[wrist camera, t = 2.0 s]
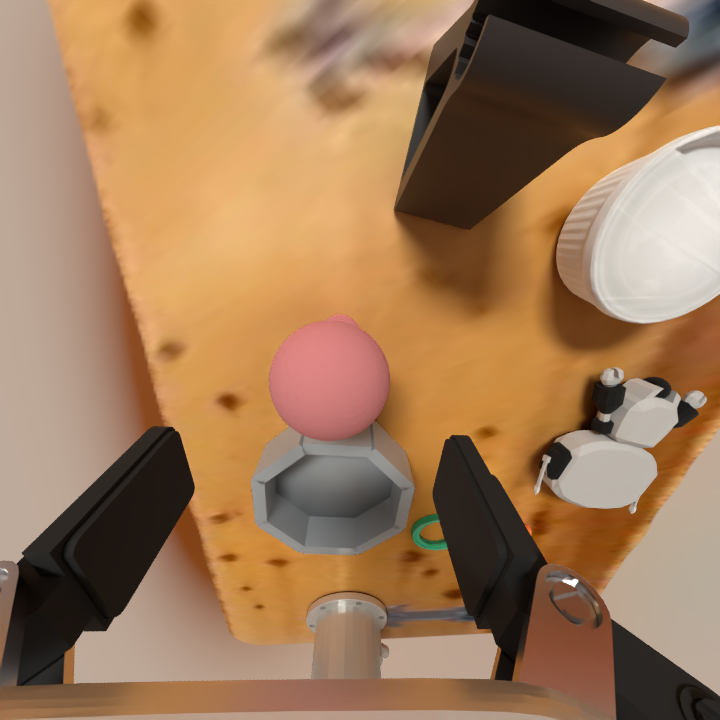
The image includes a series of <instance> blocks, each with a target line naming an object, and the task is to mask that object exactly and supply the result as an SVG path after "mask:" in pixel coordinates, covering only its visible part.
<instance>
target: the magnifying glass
mask: <svg viewBox="0 0 720 720" xmlns="http://www.w3.org/2000/svg"><path fill="white" fill-rule="evenodd" d="M436 522H440V521H439V518H438V514H433V515H429V516H426V517H423V518H421V519H420V520H418V521H417V522H416V523H415V524H414V525H413V527H412V531H411V532H412V538H413V541H414V542H415V544H416V545H418V546H419V547H421V548H424V549H428V550H443V549H448V548H447V544H446V541H445V539H443V540H438V541H430V540H426V539H424V538H422V537H421V535H420V534H419V533H420V531H421V530H422V529H423V528H424V527H425V526H427V525H429V524H432V523H436ZM525 526H526V528H527V530H528V531H529V533H530V535H531V534H532V533H531V529H530V527H529V526H528V525H527V524H525Z"/></svg>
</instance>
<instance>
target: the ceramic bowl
mask: <svg viewBox="0 0 720 720" xmlns="http://www.w3.org/2000/svg"><path fill="white" fill-rule="evenodd" d="M251 485H252V495H253V506H254V516H255V524H257V526H258V527H260V528H261V529H263V530H264V531H266V532H267V533H269V534H271V535H272V536H274V537H275V538H277V539H278V540H280V541H281V542H283V543H285V544H286V545H288V546H289V547H291V548H292V549H294V550H295V551H297V552H301V551H302V554H335V555H357V553H358V554H361V553H363V552H365V551H367V550H369V549H371V548H372V547H374V546H376V545H378V544H380V543H382V542H384V541H385V540H387V539H389V538H391V537H393V536H395V535H397V534H399V533H400V532H402V531H403V529H405V527H406V523H407V519H408V515H409V511H410V507H411V503H412V499H413V495H414V491H415V486H414V482H413V478H412V474H411V470H410V466H409V462H408V458H407V454H406V451H405V450H404V449H403V448H402V447H401V446H400V445H399V444H398V443H397V442H396V441H395V440H394V439H393V438H392V437H391V436H390V435H389V434H388V433H387V432H386V431H385V430H384V429H383V428H382V427H381V426H380V425H379V424H378V423H377V422H376V421H375V420H374V422H373V423H372V424H371V425H369V426H368V427H367V428H366V429H365V430H363V431H362V432H360V433H358V434H356V435H354V436H352V437H349V438H346V439H342V440H337V441H321V440H316V439H312V438H309V437H306V436H303V435H302V434H300V433H298V432H296V431H295V430H294V429H292V428H291V427H288V428H287V429H286V430H284V431H283V432H282V433H280V434H279V435H278V436H276V437H275V438H274V439H272V440H271V441H270V442H268V443H267V444H266V446H265V448H264V451H263V453H262V455H261V458H260V460H259V463H258V465H257V467H256V470H255V472H254V475H253V477H252V479H251Z"/></svg>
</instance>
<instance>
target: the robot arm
mask: <svg viewBox="0 0 720 720" xmlns="http://www.w3.org/2000/svg"><path fill="white" fill-rule="evenodd" d="M194 490H195V486H194V482H193V478H192V475H191V471H190V468H189V465H188V461H187V458H186V454H185V451H184V447H183V444H182V440H181V437H180V434H179V432H177V431H175V429H174V428H173V427H159V426H154V427H151V428H150V429H148V430H147V432H145V433H144V434H143V435H142V436H141V437H140V438H139V439H138V440H137V441H136V442H135V443H134V444H133V445H132V446H131V447H130V448H129V449H128V450H127V451H126V452H125V453H124V454H123V455H122V456H121V457H120V458H119V459H118V460H117V461H116V462H115V463H114V464H113V465H112V466H110V468H108V469H107V470H106V471H105V472H104V473H103V474H102V475H101V476H100V477H99V478H98V479H97V480H96V481H95V482H94V483H93V484H92V485H91V486H90V487H89V488H88V489H87V490H86V491H85V492H84V493H83V494H82V495H81V496H80V497H79V498H78V499H77V500H76V501H75V502H74V503H72V504H71V505H70V507H68V508H67V509H66V510H65V511H64V512H63V513H62V514H61V515H60V516H59V517H58V518H57V519H56V520H55V521H54V522H53V523H52V524H51V525H50V526H49V527H48V528H47V529H46V530H45V531H44V532H43V533H42V534H41V535H40V536H39V537H38V538H37V539H36V540H35V541H33V542H32V543H31V545H29V546H28V547H27V548H26V550H24V551H23V552H22V554H23V555H24V557H23V558H22V559H21V560H20V561H19V562H18V563H17V564H15V563H14V562H12V561H0V720H720V696H718V695H717V694H716V693H715V692H713V691H712V690H710V689H709V688H708V687H706V686H705V685H703V684H702V683H701V682H699V681H698V680H697V679H695V678H694V677H692V676H691V675H690V674H688V673H686V672H685V671H684V670H682V669H681V668H680V667H678V666H677V665H675V664H674V663H673V662H671V661H670V660H668V659H667V658H666V657H664V656H663V655H661V654H660V653H659V652H657V651H656V650H654V649H653V648H652V647H650V646H649V645H647V644H646V643H644V642H643V641H642V640H640V639H639V638H637V637H636V636H635V635H633V634H632V633H630V632H629V631H628V630H626V629H625V628H623V627H622V626H621V625H619V624H618V623H616V622H615V621H614V620H612V619H611V618H610V613H609V611H608V609H607V607H606V605H605V603H604V601H603V599H602V598H601V597H600V595H599V594H598V593H597V591H596V590H595V589H594V588H593V587H592V586H591V585H590V584H589V583H588V582H587V581H586V580H585V579H584V578H583V577H581V576H580V575H578V574H577V573H576V572H574V571H572V570H570V569H568V568H566V567H564V566H561V565H556V564H547V562H546V560H545V559H544V557H543V555H542V553H541V552H540V550H539V548H538V547H537V545H536V543H535V541H534V540H533V538H532V536H531V535H530V533H529V531H528V530H527V528H526V526H525V524H524V523H523V521H522V519H521V518H520V516H519V514H518V512H517V511H516V509H515V507H514V506H513V504H512V502H511V501H510V499H509V497H508V495H507V494H506V492H505V490H504V489H503V487H502V485H501V483H500V482H499V480H498V479H497V478H496V477H495V476H494V475H491V473H490V472H489V470H488V468H487V466H486V465H485V463H484V461H483V459H482V458H481V456H480V454H479V452H478V451H477V449H476V447H475V445H474V444H473V442H472V440H471V438H470V437H469V436H466V435H451V437H450V439H446V440H445V443H444V447H443V451H442V455H441V459H440V463H439V467H438V471H437V475H436V479H435V483H434V487H433V501H434V504H435V508H436V511H437V514H438V518H439V521H440V524H441V528H442V531H443V534H444V538H445V541H446V544H447V548H448V551H449V554H450V558H451V561H452V564H453V568H454V571H455V574H456V578H457V581H458V584H459V588H460V591H461V594H462V598H463V601H464V604H465V607H466V610H467V612H468V614H469V615H470V616H474V619H475V622H476V625H477V629H491V631H492V634H493V637H494V640H495V642H496V645H498V649H497V654H496V658H495V662H494V666H493V670H492V674H491V679H490V680H489V679H434V678H433V679H432V678H408V679H407V678H405V679H404V678H403V679H381V672H380V666H381V664H382V657H384V658H386V657H388V654H389V648H388V647H387V646H386V645H384V644H383V643H381V634H380V630H382V629H383V627H384V626H385V624H386V622H387V614H386V608H385V606H384V605H383V604H382V603H381V602H380V601H379V600H377V599H376V598H374V597H372V596H369V595H366V594H362V593H356V592H342V593H335V594H330V595H327V596H324V597H322V598H320V599H318V600H317V601H315V602H314V603H313V604H312V605H311V606H310V607H309V609H308V612H307V619H306V622H307V626H308V627H309V629H310V630H311V631H312V632H313V633H315V641H314V652H313V663H312V674H311V679H303V680H239V681H238V680H236V681H235V680H233V681H173V682H126V683H125V682H124V683H79V684H73V682H74V648H75V642H76V641H77V639H78V638H79V636H80V635H81V633H82V632H83V631H106V630H107V629H108V627H109V625H110V624H111V622H112V620H113V619H114V617H117V616H118V615H120V614H121V612H123V610H124V609H125V607H126V606H127V604H128V603H129V601H130V599H131V597H132V596H133V594H134V593H135V591H136V589H137V588H138V586H139V584H140V583H141V581H142V579H143V578H144V576H145V574H146V573H147V571H148V569H149V567H150V566H151V564H152V563H153V561H154V559H155V558H156V556H157V554H158V553H159V551H160V549H161V548H162V546H163V544H164V543H165V541H166V539H167V538H168V536H169V534H170V533H171V531H172V529H173V528H174V526H175V524H176V523H177V521H178V519H179V518H180V516H181V514H182V513H183V511H184V510H185V508H186V506H187V505H188V503H189V501H190V500H191V498H192V496H193V494H194Z"/></svg>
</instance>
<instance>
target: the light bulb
mask: <svg viewBox="0 0 720 720" xmlns="http://www.w3.org/2000/svg"><path fill="white" fill-rule="evenodd" d="M389 386H390V373H389V367H388V364H387V360H386V358H385V356H384V353H383V351H382V350H381V348H380V347H379V345H378V344H377V343H376V341H375V340H374V339H373V338H372V337H371V336H370V335H369V334H367V333H366V332H365V331H363V330H362V329H360V328H359V327H358V325H357V323H356V322H355V321H354V320H353V319H352V318H350V317H348V316H345V315H335V316H332V317H330V318H328V319H327V320H326V321H319V322H315V323H311V324H308V325H306V326H304V327H302V328H300V329H298V330H296V331H295V332H294V333H292V334H291V335H290V336H289V337H288V338H287V339H286V340H285V341H284V342H283V343H282V344H281V346H280V347H279V349H278V351H277V352H276V354H275V356H274V358H273V361H272V364H271V368H270V374H269V389H270V394H271V398H272V401H273V404H274V406H275V408H276V410H277V412H278V414H279V415H280V417H281V418H282V419H283V420H284V421H285V422H286V423H287V424H288V425H289V426H290V427H291V428H292V429H294V430H295V431H296V432H298V433H300V434H302V435H303V436H306V437H309V438H312V439H316V440H321V441H337V440H342V439H346V438H349V437H352V436H354V435H356V434H358V433H360V432H362V431H363V430H365V429H366V428H367V427H368V426H369V425H371V424H372V423H373V422H374V420H375V419H376V418H377V417H378V416H379V414H380V413H381V411H382V409H383V407H384V405H385V402H386V400H387V397H388V393H389Z"/></svg>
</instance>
